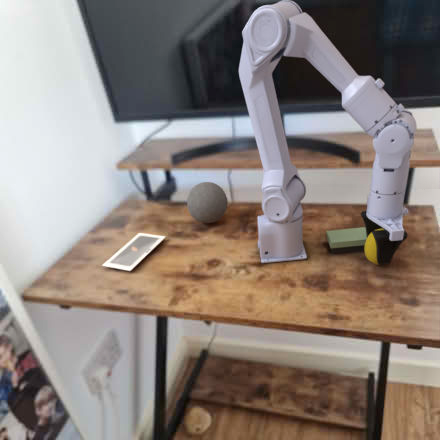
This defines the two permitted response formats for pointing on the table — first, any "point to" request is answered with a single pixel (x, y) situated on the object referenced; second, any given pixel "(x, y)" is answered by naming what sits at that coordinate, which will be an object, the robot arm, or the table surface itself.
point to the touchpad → (134, 251)
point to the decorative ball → (207, 202)
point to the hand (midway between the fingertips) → (378, 254)
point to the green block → (346, 240)
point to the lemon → (371, 248)
